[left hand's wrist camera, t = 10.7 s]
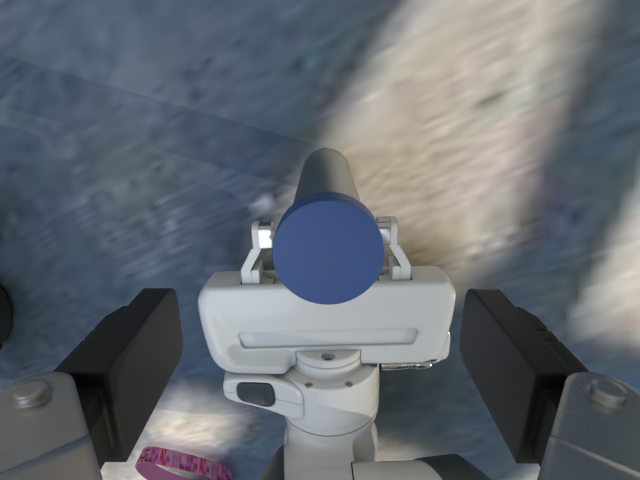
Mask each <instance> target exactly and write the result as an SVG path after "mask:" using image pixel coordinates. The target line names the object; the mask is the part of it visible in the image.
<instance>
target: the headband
mask: <svg viewBox="0 0 640 480" xmlns="http://www.w3.org/2000/svg"><path fill="white" fill-rule="evenodd" d="M156 464H159V465H164V466H168V467H173V468H177V469H181V470H185V471H188V472H192V473H196V474H199V475H202V476H206V477H209V478H212V479H214V480H231V476H232V472H231V470H230V469H229V468H227V467H225V466H223V465H221V464H218V463H216V462H213V461H210V460H207V459H203V458H200V457H196V456H193V455H189V454H185V453H181V452H177V451H173V450H168V449H163V448H157V447H146V448H144V449H143V451H142V453H141V455H140V457H139V459H138V461H137V463H136V465H135V468H136V470H137V471H138V472H139V473H140V474H141V475H142V476H143V477H144V478H146V479H147V480H194V479H189V478H185V477H181V476H178V475H175V474H173V473H170V472H168V471H166V470H164V469H162V468H160V467H159V466H157V465H156Z"/></svg>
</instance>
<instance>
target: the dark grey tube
mask: <svg viewBox="0 0 640 480" xmlns="http://www.w3.org/2000/svg"><path fill="white" fill-rule="evenodd" d="M318 192H338V193H342V194H346V195H349V196H351V197H353V198H355V199H356V200H358V201H360V199H359V196H358V193H357V190H356V187H355V184H354V181H353V178H352V175H351V172H350V169H349V166H348V163H347V161H346V159H345V158H344V157H343V156H342V155H341V154H340V153H339V152H337V151H335V150H332V149H320V150H317V151H315V152H313V153H312V154H311V155H310V156H309V157H308V158H307V159H306V161H305V163H304V166H303V169H302V173H301V177H300V180H299V184H298V188H297V192H296V195H295V199H294V203H295V202H297V201H298V200H300V199H301V198H303V197H305V196H308V195H310V194H314V193H318ZM294 203H293V204H294Z"/></svg>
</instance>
